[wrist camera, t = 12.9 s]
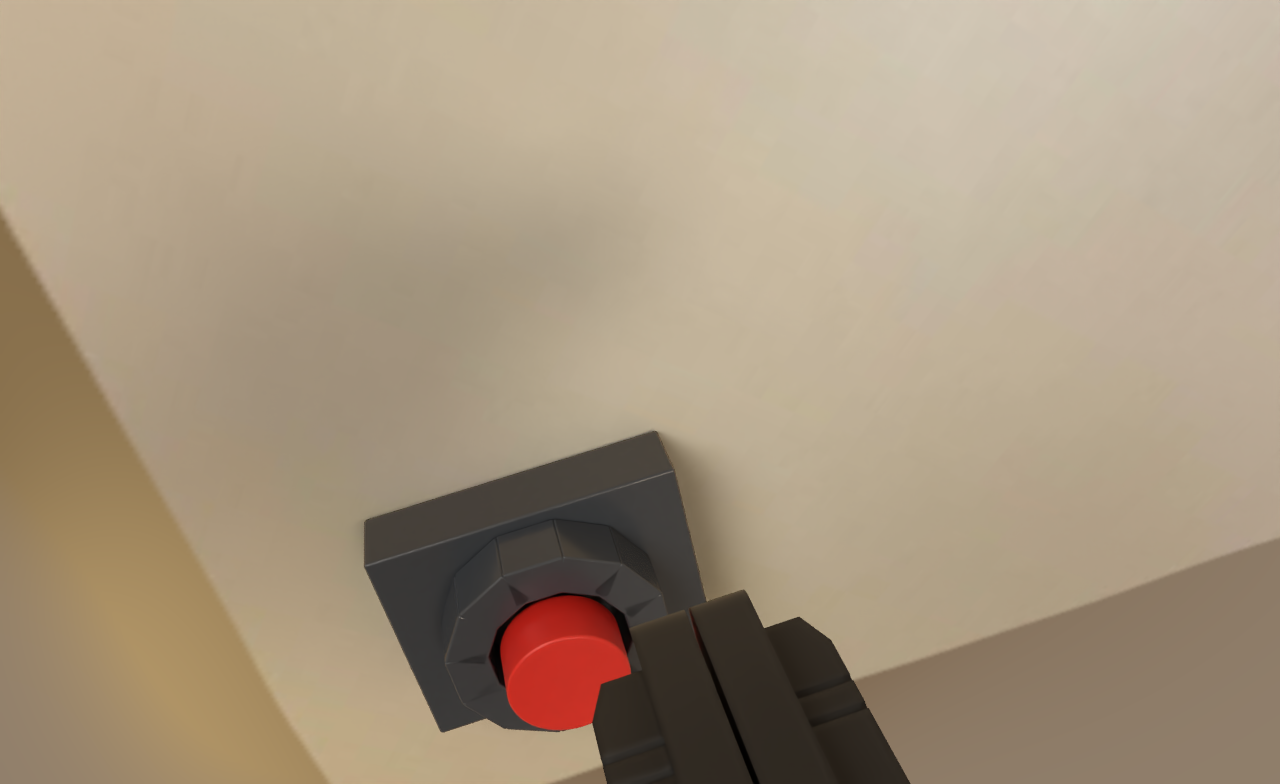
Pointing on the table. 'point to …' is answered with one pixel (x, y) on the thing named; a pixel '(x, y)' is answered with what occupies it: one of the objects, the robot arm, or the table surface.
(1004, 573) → the table surface
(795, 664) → the robot arm
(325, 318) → the table surface
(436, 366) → the table surface
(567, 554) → the button block
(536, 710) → the button
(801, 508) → the table surface
